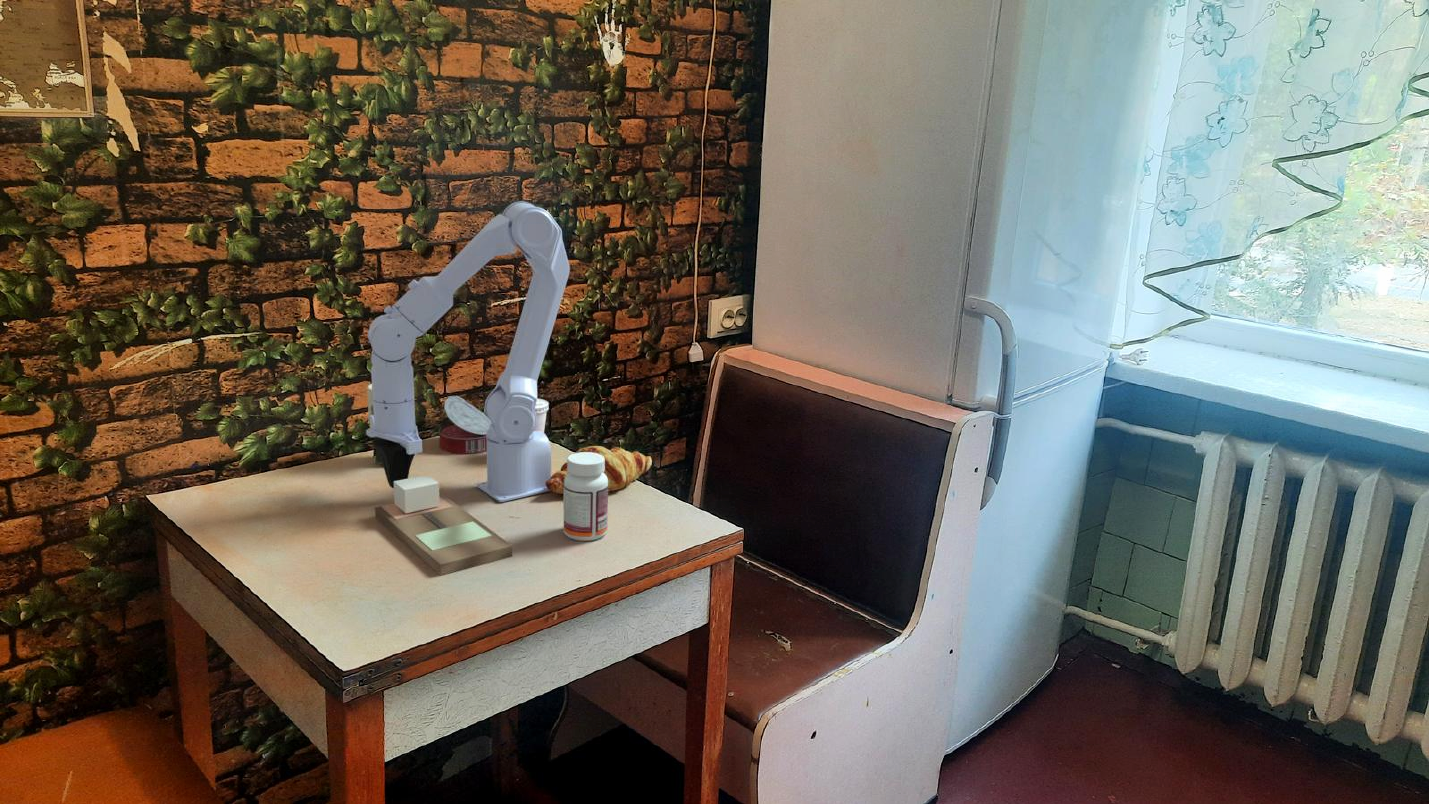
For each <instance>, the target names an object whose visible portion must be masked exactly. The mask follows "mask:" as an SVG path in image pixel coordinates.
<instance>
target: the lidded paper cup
mask: <svg viewBox="0 0 1429 804" xmlns="http://www.w3.org/2000/svg"><path fill="white" fill-rule="evenodd" d="M549 405H550V403H549V401H547V400H545V399H542V398H537V402H536V406H535V414H536V419H537V422H536V427H535V429H534V431H542V432H543V433H544V434H545V427H546V426H545V425H546V420H547V412H548V411H549V410H550V408H549Z"/></svg>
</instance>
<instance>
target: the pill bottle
mask: <svg viewBox="0 0 1429 804" xmlns="http://www.w3.org/2000/svg"><path fill="white" fill-rule="evenodd" d="M574 453H575V452H574ZM574 453H571V454H570V455H569V456H568V457H567V459H566V460H567V461H566V462H567V471H568V472H569V473H568V474H567V475H566V477H565V479H564V494H563V533H564V534H565V536H566V537H568V538H569V539H571V540H575V541H583V542H584V541H585V542H587V541H589V542H591V541H596V540H600V539H601V538H603V537H605V535H607V532H608V520H609V519H608V514H609V508H608V507H609V505H608V504H609V492H608V478H607V476H606V475H605V474H604V473H603V472H604V471H605V458H604V457H603V456H602V455H600V454H597V453H592V452H580V453H575V454H574Z"/></svg>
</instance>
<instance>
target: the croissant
mask: <svg viewBox="0 0 1429 804" xmlns="http://www.w3.org/2000/svg"><path fill="white" fill-rule="evenodd" d="M580 452H592V453H597V454H600V455H602V456H603V457H604V458H605V471H604V472H603V473H604V474H605V475H606V476H607V478H608V493H609V492H613V491H619V490H622V489H623V488H625V487H626V486H628V485H630V484H631V483H632V482H633V481H636V480H637V479H639V477H640V476H641V475H642V474H645V473H646V472H647V471H649V470H650V468H651V466H652V463H653V461H652V457H651V456H650V455H649V456H645V455H643V453H640V452H638V451H632V452H630V451H628V450H625V449H624V448H621V447H619V446H615V447H612V448H611V449H608V448H606V447H604V446H601V445H600V446H599V445H592V446H591V445H590V446H585V447H582V448H580V449H578V450H577V451H576V452H574V453H573V454H575V453H580ZM568 473H569V472H568V471H567V461H566V462H565V463H563V464H562V465H561V468H560V470H558V471H555V473H554V474H551V478H550V479H549V480H547V481H546V487H547V489H548V490H550V491H549V492H553V493H555V494H559V495H564V479H565V477H566V475H567V474H568Z"/></svg>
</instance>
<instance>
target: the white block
mask: <svg viewBox="0 0 1429 804" xmlns="http://www.w3.org/2000/svg"><path fill="white" fill-rule="evenodd" d="M439 494H440V483H439V482H438V481H436V480H435V479H434V478H433V477H431V476H430V475H428V474H424V475H419V476H415V477H414V476H413V477H410V478H409V477H408V479H403V480H398V481H394V489H393V497H394V501H393V502H394V503H395V505H396V506H397V507H399V508H400V509H401V510H402V511H403V512H405V513H410V512H414V511H419V510H423V509H428V508H432V507H437V506H440V504H439Z"/></svg>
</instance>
